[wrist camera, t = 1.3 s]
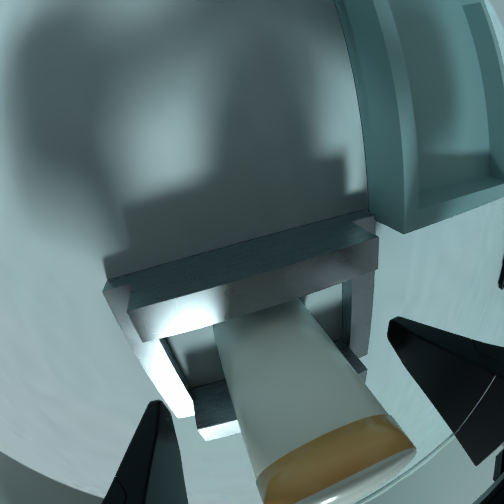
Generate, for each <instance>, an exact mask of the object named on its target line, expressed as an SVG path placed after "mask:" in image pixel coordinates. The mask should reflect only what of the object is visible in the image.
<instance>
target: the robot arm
mask: <svg viewBox="0 0 504 504" xmlns="http://www.w3.org/2000/svg"><path fill="white" fill-rule="evenodd" d="M499 288H500V289H501V290H502V289H504V268H503V272H502V276H501V280H500V283H499ZM387 337H388V340H389V342H390V343H391V345H392V347H393V348H394V350H395V352H396V353H397V355H398V357H399V358H400V360H401V361H402V363H403V365H404V366H405V368H406V369H407V370H408V372H409V373H410V374H411V376H412V377H413V378H414V380H415V381H416V382H417V384H418V385H419V386H420V388H421V389H422V390H423V392H424V393H425V394H426V396H427V397H428V398H429V400H430V401H431V402H432V404H433V405H434V407H435V408H436V409H437V411H438V412H439V413H440V415H441V416H442V418H443V419H444V420H445V422H446V423H447V425H448V426H449V428H450V429H451V430H452V432H453V433H454V434H455V436H456V438H457V439H458V441H459V442H460V444H461V445H462V447H463V448H464V450H465V451H466V453H467V454H468V456H469V457H470V459H471V460H472V462H473V463H474V465H475V466H478V465H479V464H480V463H481V462H482V461H483V460H485V459H486V458H487V457H488V456H489V455H490V454H491V453H493V452H494V451H495V450H496V449H497V448H498V447H499V446H500V445H502V446H503V447H504V347H500V346H496V345H491V344H487V343H483V342H480V341H476V340H473V339H472V340H471V339H470V338H466V337H463V336H460V335H457V334H453V333H450V332H447V331H444V330H441V329H437V328H434V327H431V326H428V325H425V324H422V323H418V322H415V321H412V320H409V319H406V318H403V317H399V316H398V317H395V318H393V319H391V320H390V321H389V326H388V332H387ZM115 476H116V477H114V479H113V482H112V484H111V486H110V488H109V490H108V492H107V494H106V496H105V498H104V500H103V502H102V503H101V504H188V499H187V493H186V488H185V482H184V475H183V468H182V461H181V455H180V449H179V445H178V441H177V437H176V433H175V429H174V425H173V420H172V416H171V413H170V411H169V410H168V409H167V407H166V406H165V404H164V403H163V402H162V401H161V400H155V401H151V402H150V403H149V404H148V406H147V408H146V410H145V412H144V415H143V417H142V419H141V421H140V423H139V425H138V427H137V429H136V432H135V434H134V436H133V438H132V440H131V442H130V444H129V447H128V449H127V451H126V453H125V455H124V457H123V460H122V462H121V464H120V466H119V468H118V471H117V473H116V475H115ZM493 480H494V481H495V482H494V483H493V484H492V485H491V486H490V487H489V488H488V489H487V490H486V491H485V492H484V493H483V494H482V495H481V496H480V497H479V498H478V499H477V500H476V501H475V502H474V503H473V504H504V448H503V449H502V450H501V451H500V452H499V454H498V455H497V456H496V461H495V470H494V476H493Z"/></svg>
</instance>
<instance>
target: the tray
mask: <svg viewBox="0 0 504 504" xmlns="http://www.w3.org/2000/svg"><path fill="white" fill-rule="evenodd" d="M334 1H335V4H336V7H337V10H338V14H339V17H340V21H341V24H342V28H343V31H344V35H345V39H346V43H347V47H348V51H349V56H350V60H351V65H352V70H353V75H354V80H355V85H356V90H357V96H358V102H359V108H360V115H361V122H362V130H363V138H364V147H365V156H366V168H367V181H368V198H369V213H372V214H374V215H375V220H376V221H378V222H380V223H382V224H384V225H386V226H388V227H390V228H392V229H394V230H396V231H398V232H400V233H402V234H406V233H409V232H412V231H414V230H417V229H420V228H423V227H426V226H428V225H431V224H434V223H437V222H439V221H442V220H445V219H447V218H450V217H453V216H455V215H458V214H461V213H463V212H466V211H469V210H471V209H474V208H477V207H479V206H482V205H484V204H487V203H489V202H492V201H494V200H497V199H500V198H502V197H504V65H503V60H502V56H501V52H500V48H499V44H498V41H497V37H496V34H495V31H494V28H493V25H492V22H491V19H490V16H489V13H488V10H487V8H486V5H485V3H484V0H334Z"/></svg>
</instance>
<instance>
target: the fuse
mask: <svg viewBox="0 0 504 504" xmlns="http://www.w3.org/2000/svg"><path fill="white" fill-rule="evenodd" d="M214 336H215V340H216V344H217V348H218V352H219V356H220V360H221V364H222V368H223V371H224V375H225V379H226V382H227V386H228V389H229V393H230V397H231V400H232V403H233V407H234V410H235V414H236V417H237V420H238V424H239V427H240V430H241V433H242V437H243V440H244V443H245V446H246V449H247V452H248V455H249V458H250V461H251V464H252V467H253V470H254V473H255V476H256V479H257V480H256V485H257V487H258V490H259V493H260V496H261V499H262V501H263V504H349V503H351V502H353V501H355V500H357V499H359V498H361V497H362V496H364V495H366V494H368V493H369V492H371V491H373V490H374V489H376V488H378V487H379V486H381V485H382V484H384V483H385V482H387V481H388V480H389V479H391V478H392V477H393V476H395V475H396V474H397V473H399V472H400V471H401V470H402V469H403V468H404V467H405V466H407V465H408V464H409V463H410V462H411V460H412V459H413V458H414V457H415V455H416V447H415V446H414V445H413V443H412V442H411V441H410V439H409V438H408V437H407V435H406V434H405V433H404V431H403V430H402V429H401V427H400V426H399V425H398V423H397V422H396V421H395V419H394V418H393V417H392V416H390V415H388V413H387V412H386V411H385V409H384V408H383V407H382V405H381V404H380V403H379V402H378V400H377V399H376V398H375V396H374V395H373V394H372V392H371V391H370V390H369V388H368V387H367V386H366V384H365V383H364V382H363V381H362V379H361V378H360V377H359V375H358V374H357V373H356V371H355V370H354V369H353V367H352V366H351V365H350V364H349V362H348V361H347V360H346V358H345V357H344V356H343V354H342V353H341V352H340V351H339V349H338V348H337V347H336V345H335V344H334V343H333V341H332V340H331V339H330V338H329V336H328V335H327V334H326V332H325V331H324V330H323V329H322V327H321V326H320V325H319V323H318V322H317V321H316V320H315V318H314V317H313V316H312V314H311V313H310V312H309V310H308V309H307V308H306V307H305V305H304V304H303V303H302V302H301V300H300V299H299V298H296V299H293V300H290V301H287V302H284V303H281V304H278V305H275V306H272V307H269V308H266V309H263V310H259V311H256V312H253V313H250V314H247V315H243V316H240V317H237V318H233V319H230V320H226V321H223V322H220V323H216V324H214Z"/></svg>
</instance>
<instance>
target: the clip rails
mask: <svg viewBox="0 0 504 504" xmlns="http://www.w3.org/2000/svg"><path fill="white" fill-rule="evenodd" d="M378 250H379V237H378V236H376V235H375V215H374V214H372V213H369V212H367V211H365V210H361V211H357V212H354V213H350V214H346V215H342V216H338V217H335V218H331V219H327V220H323V221H319V222H316V223H312V224H308V225H304V226H301V227H297V228H293V229H290V230H286V231H282V232H278V233H275V234H271V235H267V236H264V237H260V238H256V239H253V240H249V241H245V242H242V243H238V244H235V245H231V246H227V247H224V248H220V249H217V250H213V251H209V252H206V253H202V254H199V255H195V256H192V257H188V258H184V259H181V260H177V261H174V262H170V263H167V264H163V265H160V266H156V267H153V268H149V269H146V270H142V271H139V272H136V273H132V274H129V275H125V276H122V277H118V278H115V279H111V280H108V281H107V282H106V284H105V287H104V289H103V291H102V292H103V294H104V296H105V298H106V300H107V302H108V304H109V306H110V308H111V310H112V312H113V314H114V316H115V318H116V320H117V322H118V324H119V326H120V328H121V330H122V332H123V333H124V335H125V337H126V339H127V341H128V342H129V344H130V346H131V348H132V349H133V351H134V353H135V355H136V356H137V358H138V360H139V361H140V363H141V364H142V366H143V368H144V369H145V371H146V373H147V374H148V376H149V377H150V379H151V380H152V382H153V383H154V385H155V386H156V388H157V389H158V391H159V392H160V394H161V395H162V397H163V398H164V400H165V401H166V403H167V404H168V405H169V407H170V408H171V410H172V411H173V412H174V414H175V415H176V416H177V418H183V417H188V416H193V415H195V419H196V425H197V430H198V431H199V433H200V434H201V435H202V437H203V438H204V439H205V441H208V440H213V439H217V438H221V437H225V436H229V435H233V434H237V433H240V432H241V430H240V427H239V424H238V420H237V417H236V414H235V410H234V407H233V403H232V400H231V397H230V393H229V389H228V386H227V382H226V380H222V381H219V382H215V383H211V384H208V385H204V386H200V387H196V388H190V386H189V385H188V383H187V381H186V379H185V377H184V375H183V374H182V372H181V370H180V368H179V366H178V364H177V362H176V360H175V358H174V356H173V355H172V353H171V351H170V349H169V347H168V345H167V343H166V340H165V338H164V337H168V336H172V335H176V334H180V333H183V332H187V331H191V330H195V329H198V328H202V327H205V326H209V325H213V324H216V323H220V322H223V321H226V320H230V319H233V318H237V317H240V316H243V315H247V314H250V313H253V312H256V311H259V310H263V309H266V308H269V307H272V306H275V305H278V304H281V303H284V302H287V301H290V300H293V299H296V298H299V297H302V296H305V295H308V294H311V293H314V292H317V291H320V290H322V289H325V288H328V287H331V286H334V285H336V284H339V283H342V282H343V325H342V339H340V340H337V341H335V342H333V343H334V344H335V345H336V347H337V348H338V349H339V351H340V352H341V353H342V354H343V356H344V357H345V358H346V360H347V361H348V362H349V364H350V365H351V366H352V367H353V369H354V370H355V371H356V373H357V374H358V375H359V377H360V378H361V379H362V381H363V382H364V383H365V381H366V375H367V368H366V367H365V366H364V365H363V363H362V362H361V361H360V360H359V359H358V358H360V357H363V356H365V355H367V353H368V345H369V337H370V328H371V318H372V306H373V293H374V274H375V270H376V269H378Z"/></svg>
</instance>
